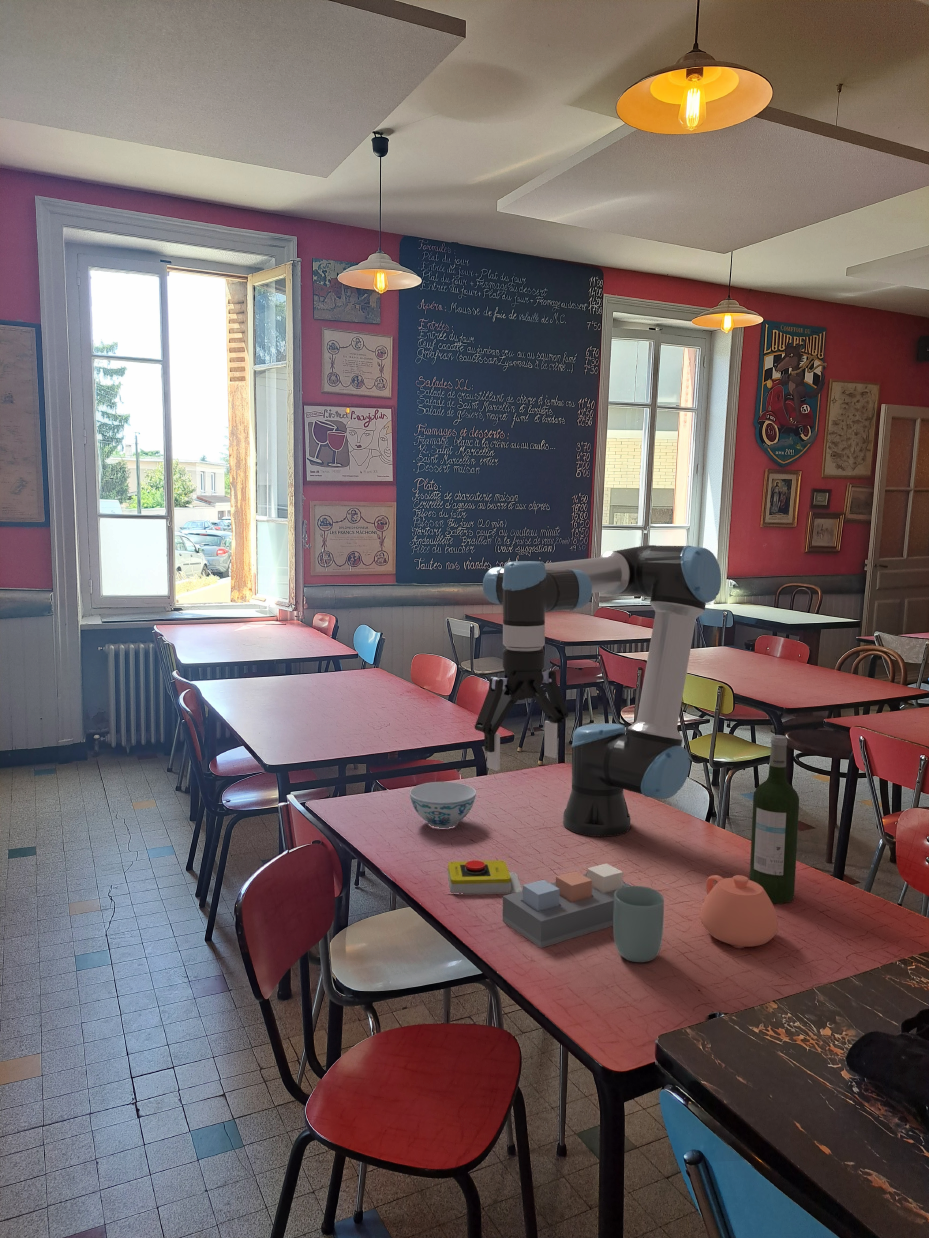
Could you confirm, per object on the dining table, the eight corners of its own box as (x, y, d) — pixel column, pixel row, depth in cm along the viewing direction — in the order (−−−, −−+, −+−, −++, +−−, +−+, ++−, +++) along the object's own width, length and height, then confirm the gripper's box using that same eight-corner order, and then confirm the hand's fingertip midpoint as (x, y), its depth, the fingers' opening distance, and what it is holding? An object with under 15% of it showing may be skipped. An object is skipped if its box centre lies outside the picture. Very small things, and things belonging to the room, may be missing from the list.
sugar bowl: (738, 961, 135) (741, 898, 134) (677, 924, 147) (679, 866, 146) (793, 944, 141) (796, 884, 140) (730, 909, 153) (733, 854, 152)
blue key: (543, 899, 148) (543, 879, 147) (559, 908, 144) (559, 888, 144) (522, 904, 145) (522, 884, 145) (537, 914, 142) (538, 894, 141)
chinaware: (487, 821, 197) (488, 788, 196) (452, 841, 185) (452, 806, 184) (434, 809, 205) (434, 777, 204) (396, 827, 193) (396, 794, 192)
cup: (606, 944, 140) (608, 886, 139) (653, 943, 140) (655, 884, 139) (619, 969, 132) (621, 907, 131) (668, 967, 133) (671, 905, 132)
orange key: (575, 890, 151) (575, 871, 151) (591, 899, 148) (592, 880, 147) (555, 895, 149) (555, 876, 149) (571, 905, 145) (571, 885, 145)
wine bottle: (793, 889, 162) (801, 733, 158) (794, 906, 154) (803, 743, 151) (749, 883, 164) (756, 729, 161) (748, 900, 157) (756, 739, 154)
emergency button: (439, 855, 167) (516, 853, 168) (439, 877, 167) (516, 875, 168) (442, 874, 158) (523, 872, 159) (442, 897, 158) (523, 895, 159)
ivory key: (605, 881, 155) (606, 863, 155) (622, 890, 151) (622, 871, 151) (586, 887, 153) (587, 868, 152) (603, 896, 149) (603, 877, 149)
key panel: (600, 893, 159) (601, 869, 159) (642, 916, 150) (643, 891, 149) (502, 920, 148) (502, 895, 147) (540, 947, 138) (541, 921, 138)
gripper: (560, 639, 165) (559, 747, 167) (455, 651, 150) (455, 769, 153) (588, 643, 159) (586, 755, 161) (481, 656, 144) (480, 779, 147)
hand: (522, 762), depth 157 cm, fingers open, 13 cm apart
